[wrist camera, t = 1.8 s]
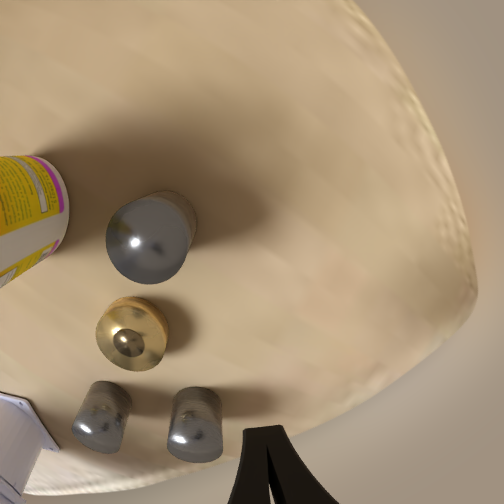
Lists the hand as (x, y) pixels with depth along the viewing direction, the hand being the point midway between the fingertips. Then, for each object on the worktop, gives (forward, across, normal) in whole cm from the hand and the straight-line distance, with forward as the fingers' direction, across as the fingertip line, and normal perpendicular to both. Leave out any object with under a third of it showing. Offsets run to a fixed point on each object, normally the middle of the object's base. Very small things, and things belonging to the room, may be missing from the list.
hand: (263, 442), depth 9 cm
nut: (+10, +7, 0) cm, 12 cm away
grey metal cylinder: (+9, +4, -6) cm, 12 cm away
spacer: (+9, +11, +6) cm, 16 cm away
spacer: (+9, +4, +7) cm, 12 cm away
